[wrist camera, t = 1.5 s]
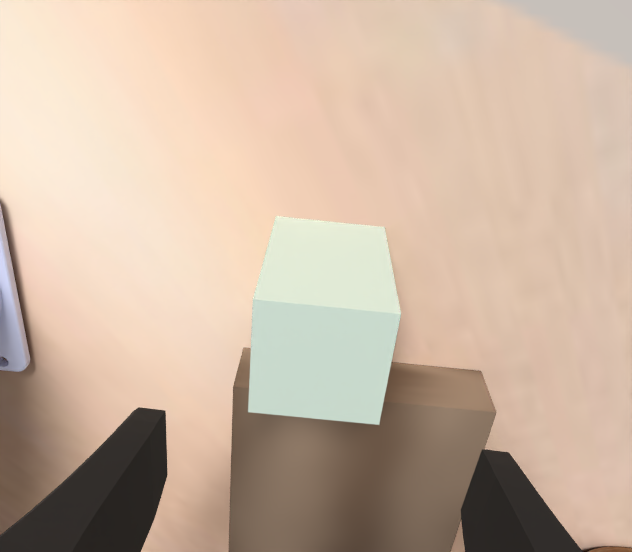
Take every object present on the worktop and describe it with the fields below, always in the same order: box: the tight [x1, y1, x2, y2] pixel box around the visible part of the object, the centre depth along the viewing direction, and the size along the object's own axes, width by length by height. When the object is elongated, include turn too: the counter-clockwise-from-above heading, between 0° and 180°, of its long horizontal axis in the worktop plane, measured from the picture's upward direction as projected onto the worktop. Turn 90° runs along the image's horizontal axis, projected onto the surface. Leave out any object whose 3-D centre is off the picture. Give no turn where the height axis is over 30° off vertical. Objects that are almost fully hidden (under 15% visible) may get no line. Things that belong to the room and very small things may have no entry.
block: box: [248, 216, 401, 425], centre depth 18 cm, size 4×4×6 cm
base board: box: [229, 348, 496, 552], centre depth 24 cm, size 10×12×2 cm
